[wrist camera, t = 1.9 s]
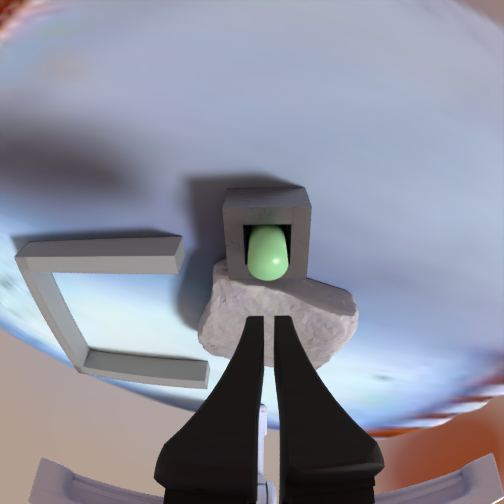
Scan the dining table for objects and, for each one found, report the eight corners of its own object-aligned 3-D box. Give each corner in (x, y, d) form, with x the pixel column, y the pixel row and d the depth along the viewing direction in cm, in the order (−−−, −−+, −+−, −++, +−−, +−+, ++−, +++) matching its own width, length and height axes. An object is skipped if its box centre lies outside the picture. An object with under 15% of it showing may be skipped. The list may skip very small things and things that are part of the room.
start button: (283, 243, 20) (287, 280, 17) (250, 243, 21) (248, 280, 17) (284, 213, 19) (288, 247, 16) (249, 214, 19) (246, 247, 16)
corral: (209, 369, 30) (207, 389, 28) (85, 356, 31) (78, 372, 29) (182, 236, 22) (174, 255, 19) (28, 242, 22) (14, 257, 20)
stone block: (309, 342, 30) (364, 285, 24) (307, 384, 27) (370, 335, 20) (197, 310, 29) (223, 238, 22) (185, 353, 25) (207, 288, 19)
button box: (301, 252, 22) (306, 277, 20) (232, 253, 22) (228, 278, 20) (304, 187, 19) (311, 206, 17) (227, 188, 20) (222, 207, 17)
